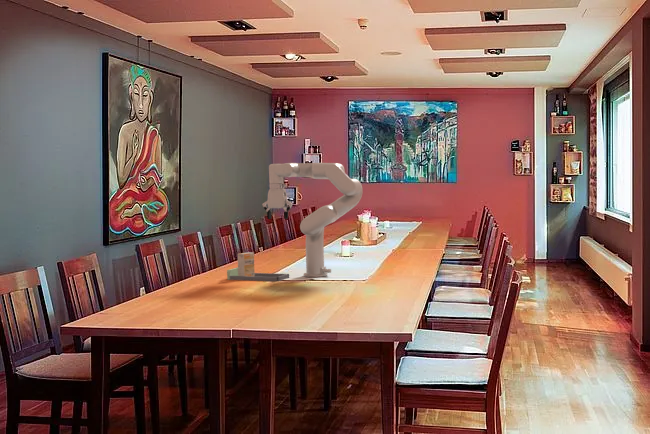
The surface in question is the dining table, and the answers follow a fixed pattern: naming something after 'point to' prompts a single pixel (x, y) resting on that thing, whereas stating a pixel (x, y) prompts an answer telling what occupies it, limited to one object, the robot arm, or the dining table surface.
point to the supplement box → (246, 264)
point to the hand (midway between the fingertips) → (277, 219)
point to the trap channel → (256, 276)
